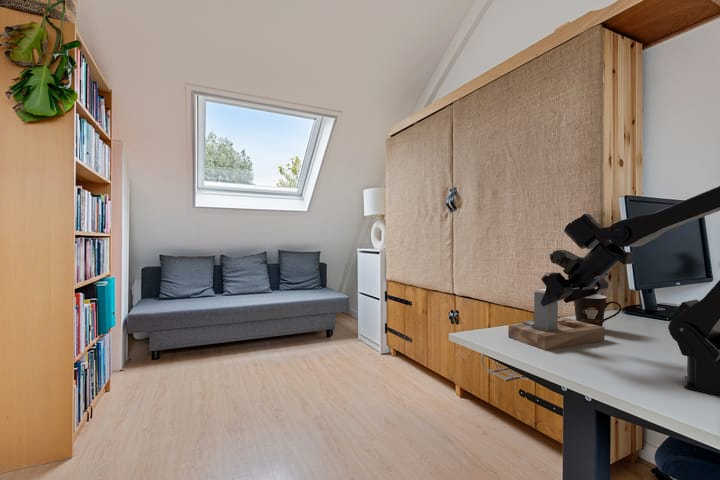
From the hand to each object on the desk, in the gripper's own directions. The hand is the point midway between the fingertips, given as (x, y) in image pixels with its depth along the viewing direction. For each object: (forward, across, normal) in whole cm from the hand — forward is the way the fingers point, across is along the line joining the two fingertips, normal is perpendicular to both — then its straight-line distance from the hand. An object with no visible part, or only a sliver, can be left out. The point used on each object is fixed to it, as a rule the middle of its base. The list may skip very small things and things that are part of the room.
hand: (553, 303), depth 95 cm
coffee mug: (+10, -24, +5) cm, 27 cm away
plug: (+9, 0, +6) cm, 11 cm away
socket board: (+10, -5, +5) cm, 12 cm away
